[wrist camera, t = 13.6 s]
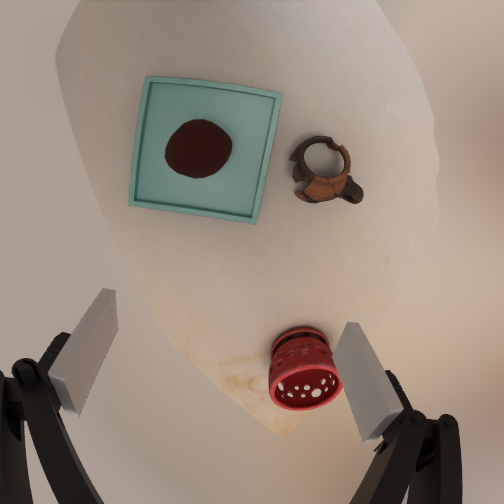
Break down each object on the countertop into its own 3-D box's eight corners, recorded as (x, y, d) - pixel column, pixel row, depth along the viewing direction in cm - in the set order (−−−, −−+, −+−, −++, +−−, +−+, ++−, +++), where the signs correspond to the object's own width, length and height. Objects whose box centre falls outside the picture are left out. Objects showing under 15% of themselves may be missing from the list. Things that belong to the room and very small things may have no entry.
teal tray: (149, 78, 35) (145, 76, 33) (280, 95, 38) (282, 93, 36) (132, 202, 43) (128, 205, 41) (255, 220, 45) (255, 224, 43)
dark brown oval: (237, 167, 41) (238, 175, 34) (176, 180, 41) (164, 190, 34) (228, 114, 38) (225, 110, 31) (165, 128, 38) (150, 127, 31)
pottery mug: (274, 192, 44) (281, 171, 36) (298, 145, 45) (308, 118, 37) (344, 227, 44) (364, 214, 35) (363, 178, 45) (384, 158, 37)
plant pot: (296, 310, 52) (310, 354, 41) (340, 340, 56) (358, 382, 45) (250, 352, 56) (254, 398, 45) (296, 377, 60) (305, 419, 49)
